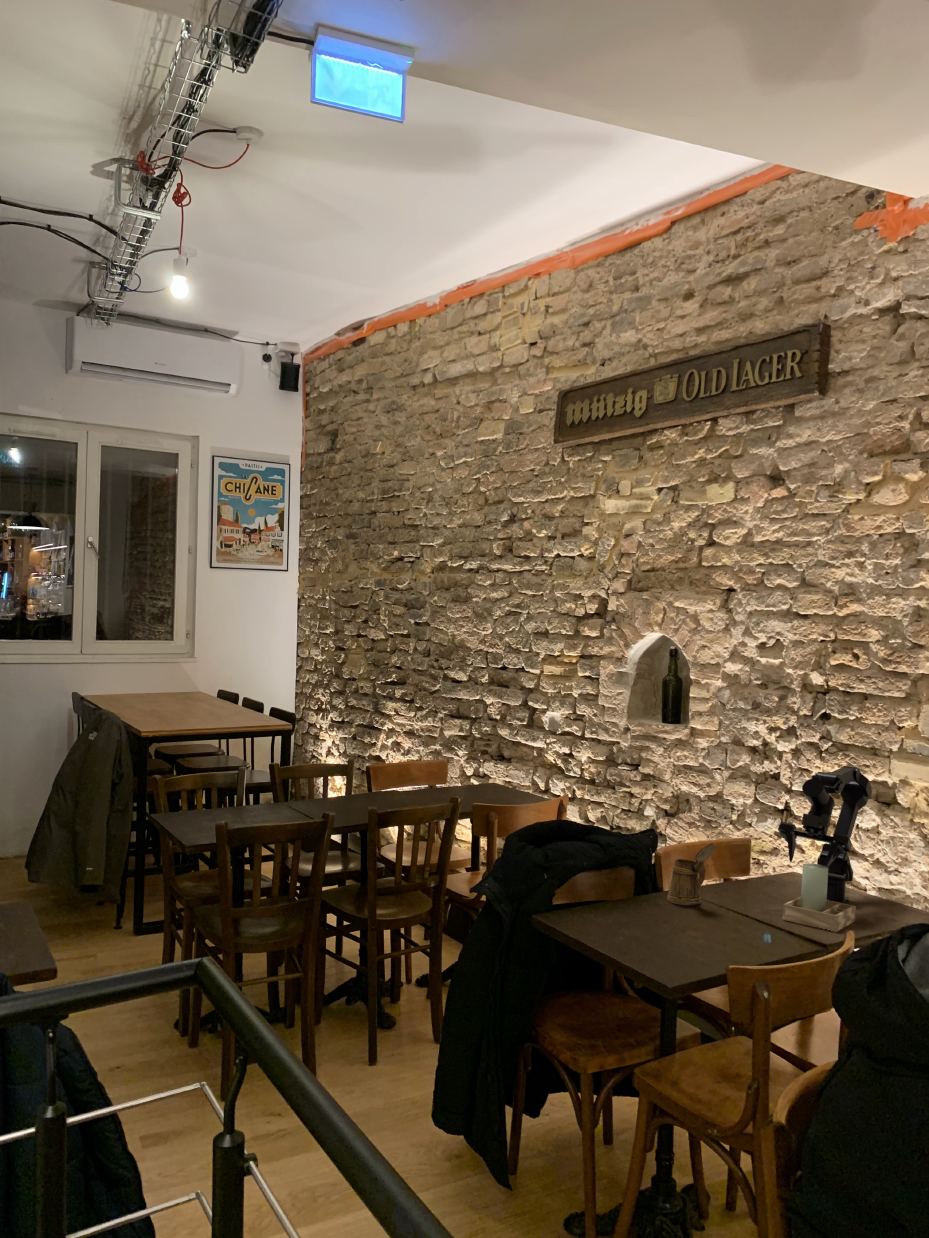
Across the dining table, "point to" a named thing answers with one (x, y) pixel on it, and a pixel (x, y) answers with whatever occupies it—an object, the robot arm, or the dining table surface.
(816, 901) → the pale green cylinder
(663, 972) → the dining table surface
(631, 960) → the dining table surface
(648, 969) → the dining table surface
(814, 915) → the tray
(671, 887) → the wooden mug
